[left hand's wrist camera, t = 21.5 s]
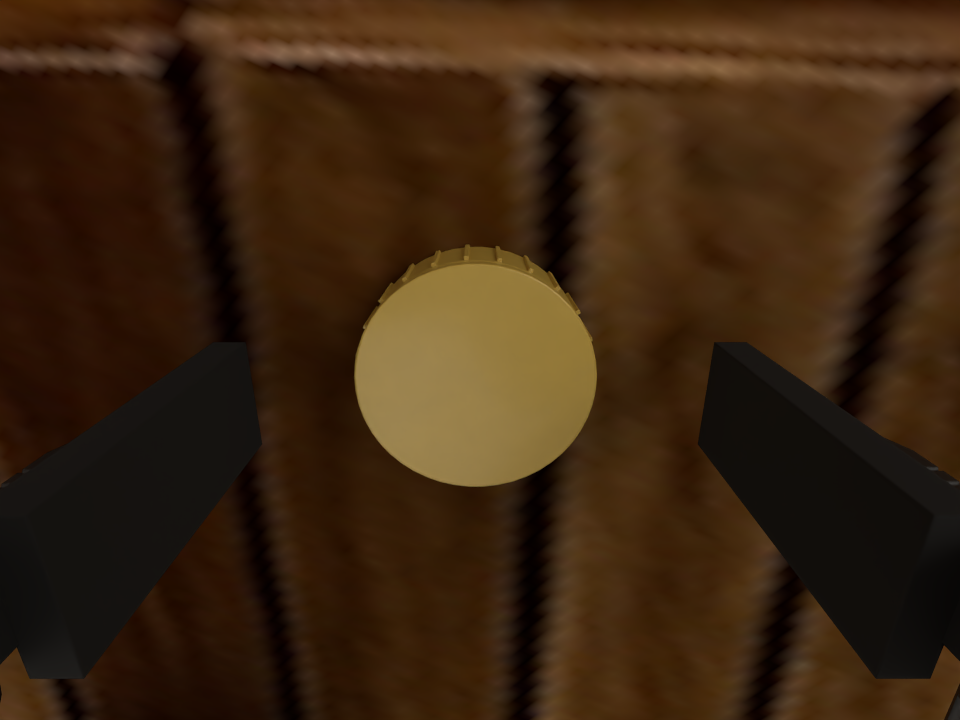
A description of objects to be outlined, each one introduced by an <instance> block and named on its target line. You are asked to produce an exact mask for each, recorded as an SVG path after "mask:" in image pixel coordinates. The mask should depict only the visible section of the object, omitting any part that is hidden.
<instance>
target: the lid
mask: <svg viewBox="0 0 960 720" xmlns="http://www.w3.org/2000/svg"><path fill="white" fill-rule="evenodd" d="M378 302H379V303H380V305H379V306H376V307H375V309H374V310H373V312H372V313H371V315H370V316H369V318H368V319H367V321H366V322H365V324H364V326H363V329H365V330H364V332H363V334H362V337H361V340H360V343H359V346H358V349H357V352H356V359H355V371H354V380H355V390H356V395H357V399H358V404H359V407H360V410H361V412H362V415H363V417H364V420H365V421H366V423H367V425H368V427H369V429H370V430H371V432H372V434H373V435H374V436H375V438H376V439H377V440H378V442H379V443H380V444H381V445H382V446H383V447H384V448H385V449H386V450H387V451H388V452H389V453H390V454H391V455H392V456H393V457H394V458H396V459H397V460H398V461H399V462H400V463H402V464H403V465H405V466H407V467H408V468H410V469H411V470H413V471H415V472H417V473H419V474H421V475H423V476H425V477H428V478H431V479H434V480H436V481H439V482H443V483H448V484H452V485H459V486H469V487H478V486H492V485H500V484H504V483H508V482H512V481H515V480H518V479H521V478H524V477H526V476H528V475H530V474H533V473H535V472H537V471H539V470H540V469H542V468H543V467H545V466H546V465H548V464H550V463H551V462H552V461H554V460H555V459H556V458H557V457H558V456H560V455H561V454H562V453H563V452H564V451H565V450H566V449H567V448H568V447H569V446H570V444H571V443H572V442H573V441H574V439H575V438H576V437H577V435H578V434H579V432H580V431H581V429H582V427H583V426H584V424H585V422H586V420H587V418H588V415H589V413H590V410H591V407H592V405H593V400H594V396H595V391H596V381H597V370H596V359H595V354H594V350H593V346H592V343H591V341H593V340H592V337H591V335H590V333H589V332H588V330H587V329H586V327H585V325H584V324H583V322H582V320H581V319H580V317H579V316H578V314H580V313H581V312H580V311H579V309H578V307H577V306H576V304H575V303H574V301H573V300H572V298H571V296H570V295H569V293H566V294H565V293H564V292H563V290H562V289H561V288H560V286H559V285H558V283H557V281H556V280H555V278H554V276H553V275H552V273H551V272H550V271H548V273H546V272H545V271H544V270H542V269H541V268H540V267H539V266H537V265H536V264H534V263H532V262H530V260H529V258H528V257H527V256H525V255H524V256H523V257H521V256H518V255H516V254H514V253H511V252H507V251H504V250H500V247H499V246H495V248H487V247H470V245H469V244H467V245H465V247H464V248H457V249H452V250H448V251H444V252H440V250H438V251H436V253H435V255H433V256H431V257H429V258H426V259H425V260H423V261H421V262H420V263H418V264H416V265H414V264H413V263H412V264H411V265H410V266H409V268H408V269H407V271H406V273H404V274H403V275H402V276H401V277H400V278H399V279H398V280H397V281H396V282H395V284H393V283H392V282H391V283H390V285H389V286H388V287H387V289H386V290H385V292H384V293H383V295H382V296H381V298H380V299H379V301H378Z"/></svg>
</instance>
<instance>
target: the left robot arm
mask: <svg viewBox="0 0 960 720" xmlns="http://www.w3.org/2000/svg"><path fill="white" fill-rule="evenodd" d="M261 445H262V441H261V434H260V428H259V422H258V416H257V410H256V404H255V398H254V391H253V385H252V379H251V373H250V367H249V361H248V354H247V348H246V342H213V343H212V344H210V345H209V346H208V347H206V348H205V349H203V350H202V351H200V352H199V353H197V354H196V355H195V356H193V357H192V358H190V359H189V360H187V361H186V362H184V363H183V364H182V365H180V366H179V367H177V368H176V369H174V370H173V371H172V372H170V373H169V374H167V375H166V376H164V377H163V378H161V379H160V380H159V381H157V382H156V383H154V384H153V385H151V386H150V387H149V388H147V389H146V390H144V391H143V392H141V393H140V394H138V395H137V396H136V397H134V398H133V399H131V400H130V401H128V402H127V403H125V404H124V405H123V406H121V407H120V408H118V409H117V410H115V411H114V412H113V413H111V414H110V415H108V416H107V417H105V418H104V419H102V420H101V421H100V422H98V423H97V424H95V425H94V426H92V427H91V428H90V429H88V430H87V431H85V432H84V433H82V434H81V435H79V436H78V437H77V438H75V439H74V440H72V441H71V442H69V443H68V444H66V445H63V446H61V447H59V448H57V449H54V450H52V451H50V452H48V453H46V454H45V455H43V456H42V457H40V458H39V459H37V460H36V461H34V462H33V463H31V464H30V465H29V466H27V467H26V468H24V469H23V472H22V473H17V474H15V475H14V476H12V477H11V478H10V479H8V480H7V481H5V482H4V483H2V486H1V488H0V664H1V663H2V662H3V661H4V660H5V659H6V658H7V657H8V656H9V655H10V654H11V653H12V651H13V650H14V649H15V648H16V647H17V649H18V651H19V653H20V656H21V658H22V661H23V663H24V666H25V668H26V671H27V673H28V676H29V678H30V679H84V678H85V677H86V675H87V674H88V673H89V671H90V670H91V669H92V667H93V666H94V665H95V663H96V662H97V661H98V659H99V658H100V657H101V656H102V654H103V653H104V652H105V650H106V649H107V648H108V646H109V645H110V644H111V642H112V641H113V640H114V638H115V637H116V636H117V634H118V633H119V632H120V631H121V629H122V628H123V627H124V625H125V624H126V623H127V621H128V620H129V619H130V617H131V616H132V615H133V613H134V612H135V611H136V609H137V608H138V607H139V605H140V604H141V603H142V602H143V600H144V599H145V598H146V596H147V595H148V594H149V592H150V591H151V590H152V588H153V587H154V586H155V584H156V583H157V582H158V580H159V579H160V578H161V577H162V575H163V574H164V573H165V571H166V570H167V569H168V567H169V566H170V565H171V563H172V562H173V561H174V559H175V558H176V557H177V555H178V554H179V553H180V552H181V550H182V549H183V548H184V546H185V545H186V544H187V542H188V541H189V540H190V538H191V537H192V536H193V534H194V533H195V532H196V530H197V529H198V528H199V526H200V525H201V524H202V523H203V521H204V520H205V519H206V517H207V516H208V515H209V513H210V512H211V511H212V509H213V508H214V507H215V505H216V504H217V503H218V501H219V500H220V499H221V498H222V496H223V495H224V494H225V492H226V491H227V490H228V488H229V487H230V486H231V484H232V483H233V482H234V480H235V479H236V478H237V476H238V475H239V474H240V473H241V471H242V470H243V469H244V467H245V466H246V465H247V463H248V462H249V461H250V459H251V458H252V457H253V455H254V454H255V453H256V451H257V450H258V449H259V447H260V446H261ZM698 445H699V446H700V448H701V449H702V450H703V452H704V453H705V454H706V455H707V457H708V458H709V459H710V461H711V462H712V463H713V465H714V466H715V467H716V469H717V470H718V471H719V473H720V474H721V475H722V477H723V478H724V479H725V480H726V482H727V483H728V484H729V486H730V487H731V488H732V490H733V491H734V492H735V494H736V495H737V496H738V498H739V499H740V500H741V502H742V503H743V504H744V506H745V507H746V508H747V509H748V511H749V512H750V513H751V515H752V516H753V517H754V519H755V520H756V521H757V523H758V524H759V525H760V527H761V528H762V529H763V531H764V532H765V533H766V534H767V536H768V537H769V538H770V540H771V541H772V542H773V544H774V545H775V546H776V548H777V549H778V550H779V552H780V553H781V554H782V556H783V557H784V558H785V559H786V561H787V562H788V563H789V565H790V566H791V567H792V569H793V570H794V571H795V573H796V574H797V575H798V577H799V578H800V579H801V581H802V582H803V583H804V585H805V586H806V587H807V588H808V590H809V591H810V592H811V594H812V595H813V596H814V598H815V599H816V600H817V602H818V603H819V604H820V606H821V607H822V608H823V610H824V611H825V612H826V613H827V615H828V616H829V617H830V619H831V620H832V621H833V623H834V624H835V625H836V627H837V628H838V629H839V631H840V632H841V633H842V635H843V636H844V637H845V638H846V640H847V641H848V642H849V644H850V645H851V646H852V648H853V649H854V650H855V652H856V653H857V654H858V656H859V657H860V658H861V660H862V661H863V662H864V664H865V665H866V666H867V667H868V669H869V670H870V671H871V673H872V674H873V675H874V677H875V678H876V679H930V678H931V675H932V673H933V670H934V668H935V666H936V663H937V661H938V658H939V656H940V653H941V651H942V648H943V646H944V645H945V646H946V647H947V648H948V649H949V650H950V651H951V653H952V654H953V655H954V656H955V657H956V658H957V659H958V660H959V661H960V485H959V481H957V480H956V479H954V478H953V477H951V476H950V475H949V474H947V473H946V472H944V471H939V470H938V467H937V466H935V465H934V464H932V463H931V462H929V461H928V460H926V459H925V458H923V457H922V456H920V455H919V454H918V453H916V452H915V451H913V450H911V449H908V448H906V447H904V446H902V445H899V444H897V443H895V442H893V441H890V440H888V439H886V438H884V437H882V436H880V435H879V434H878V433H876V432H875V431H873V430H872V429H870V428H869V427H868V426H866V425H865V424H863V423H862V422H860V421H859V420H857V419H856V418H855V417H853V416H852V415H850V414H849V413H847V412H846V411H845V410H843V409H842V408H840V407H839V406H837V405H836V404H834V403H833V402H832V401H830V400H829V399H827V398H826V397H824V396H823V395H821V394H820V393H819V392H817V391H816V390H814V389H813V388H811V387H810V386H809V385H807V384H806V383H804V382H803V381H801V380H800V379H798V378H797V377H796V376H794V375H793V374H791V373H790V372H788V371H787V370H786V369H784V368H783V367H781V366H780V365H778V364H777V363H775V362H774V361H773V360H771V359H770V358H768V357H767V356H765V355H764V354H762V353H761V352H760V351H758V350H757V349H755V348H754V347H752V346H751V345H750V344H748V343H747V342H714V348H713V354H712V360H711V366H710V372H709V379H708V385H707V391H706V397H705V403H704V409H703V416H702V422H701V428H700V434H699V440H698ZM1 696H2V693H1V687H0V701H1ZM944 720H960V684H959V687H958V689H957V691H956V694H955V696H954V698H953V700H952V703H951V705H950V707H949V710H948V712H947V714H946V717H945V719H944Z"/></svg>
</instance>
